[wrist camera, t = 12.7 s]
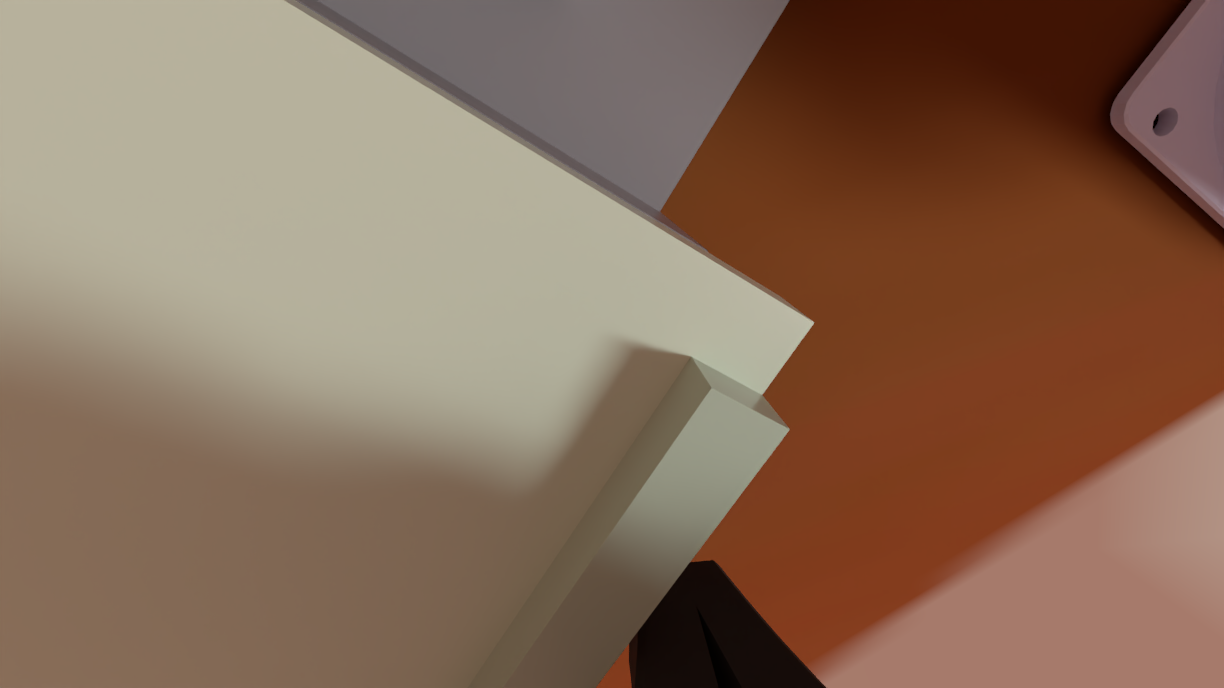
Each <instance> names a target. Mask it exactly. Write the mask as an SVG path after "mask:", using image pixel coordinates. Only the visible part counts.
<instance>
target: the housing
mask: <svg viewBox="0 0 1224 688" xmlns="http://www.w3.org/2000/svg"><path fill="white" fill-rule="evenodd" d="M296 1H297V2H299V3H301V4H302V5H304V6H306V7H307V8H309V9H310V10H312V11H314V12H315V13H317V14H319V15H320V16H322V17H324V18H325V19H327V20H328V21H330V22H332V23H333V24H335V25H337V26H338V27H340V28H342V29H343V30H345V31H346V32H348V33H350V34H351V35H353V36H355V37H356V38H358V39H360V40H361V41H363V42H364V43H366V44H368V45H369V46H371V47H373V48H374V49H376V50H378V51H379V52H381V53H383V54H384V55H386V56H387V57H389V58H391V59H392V60H394V61H396V62H397V63H399V64H401V65H402V66H404V67H405V68H407V69H409V70H410V71H412V72H414V73H415V74H417V75H419V76H420V77H422V78H423V79H425V80H427V81H428V82H430V83H432V84H433V85H435V86H437V87H438V88H440V89H441V90H443V91H445V92H446V93H448V94H450V95H451V96H453V97H455V98H456V99H458V100H459V101H461V102H463V103H464V104H466V105H468V106H469V107H471V108H473V109H474V110H476V111H477V112H479V113H481V114H482V115H484V116H486V117H487V118H489V119H491V120H492V121H494V122H495V123H497V124H499V125H500V126H502V127H504V128H505V129H507V130H509V131H510V132H512V133H513V134H515V135H517V136H518V137H520V138H522V139H523V140H525V141H527V142H528V143H530V144H531V145H533V146H535V147H536V148H538V149H540V150H541V151H543V152H545V153H546V154H548V155H549V156H551V157H553V158H554V159H556V160H558V161H559V162H561V163H563V164H564V165H566V166H567V167H569V168H571V169H572V170H574V171H576V172H577V173H579V174H581V175H582V176H584V177H585V178H587V179H589V180H590V181H592V182H594V183H595V184H597V185H599V186H600V187H602V188H603V189H605V190H607V191H608V192H610V193H612V194H613V195H615V196H617V197H618V198H620V199H621V200H623V201H625V202H626V203H628V204H630V205H631V206H633V207H635V208H636V209H638V210H639V211H641V212H643V213H644V214H646V215H648V216H649V217H651V218H653V219H654V220H656V221H657V222H659V223H661V224H662V225H664V226H666V227H667V228H669V229H671V230H672V231H674V232H676V233H677V234H679V235H680V236H682V237H684V238H685V239H687V240H689V241H690V242H692V243H694V244H695V245H697V246H698V247H700V248H702V249H703V250H705V251H707V250H706V249H705V248H704V247H702V246H701V245H700V244H699V243H697V242H696V241H695V240H694V239H693V238H691V237H690V236H689V235H688V234H686V233H685V232H684V231H683V230H681V229H680V228H679V227H678V226H677V225H675V224H674V223H673V222H672V221H670V220H669V219H668V218H667V217H665V216H664V215H663V214H662V213H661V212H660V210H661V209H662V207H663V205H664V204H665V202H666V201H667V199H668V197H669V196H670V194H671V192H672V191H673V189H674V188H675V186H676V184H677V183H678V181H679V179H680V178H681V176H682V175H683V173H684V171H685V170H686V168H687V166H688V165H689V163H690V162H691V160H692V158H693V157H694V155H695V153H696V152H697V150H698V149H699V147H700V145H701V144H702V142H703V140H704V139H705V137H706V135H707V134H708V132H709V131H710V129H711V127H712V126H713V124H714V122H715V121H716V119H717V118H718V116H719V114H720V113H721V111H722V109H723V108H724V106H725V105H726V103H727V101H728V100H729V98H730V96H731V95H732V93H733V92H734V90H735V88H736V87H737V85H738V83H739V82H740V80H741V79H742V77H743V75H744V74H745V72H746V70H747V69H748V67H749V66H750V64H751V62H752V61H753V59H754V57H755V56H756V54H757V52H758V51H759V49H760V48H761V46H762V44H763V43H764V41H765V39H766V38H767V36H768V35H769V33H770V31H771V30H772V28H773V26H774V25H775V23H776V22H777V20H778V18H779V17H780V15H781V13H782V12H783V10H784V9H785V7H786V5H787V4H788V2H789V0H296Z"/></svg>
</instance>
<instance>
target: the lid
mask: <svg viewBox="0 0 1224 688" xmlns="http://www.w3.org/2000/svg"><path fill="white" fill-rule="evenodd" d="M813 324H814V322H813V321H812V320H810V319H809V318H808V317H806V316H805V315H804V314H803V313H801V312H800V311H799V310H797V309H796V308H795V307H793V306H792V305H791V304H789V303H788V302H787V301H785V300H784V299H783V298H781V297H780V296H779V295H777V294H775V293H774V292H772V291H770V290H769V289H767V288H766V287H764V286H762V285H761V284H759V283H757V282H756V281H754V280H752V279H751V278H749V277H748V276H746V275H744V274H743V273H741V272H739V271H738V270H736V269H734V268H733V267H731V266H730V265H728V264H726V263H725V262H723V261H721V260H720V259H718V258H716V257H715V256H713V255H712V254H710V253H708V252H707V251H705V250H703V249H702V248H700V247H698V246H697V245H695V244H694V243H692V242H690V241H689V240H687V239H685V238H684V237H682V236H680V235H679V234H677V233H676V232H674V231H672V230H671V229H669V228H667V227H666V226H664V225H662V224H661V223H659V222H657V221H656V220H654V219H653V218H651V217H649V216H648V215H646V214H644V213H643V212H641V211H639V210H638V209H636V208H635V207H633V206H631V205H630V204H628V203H626V202H625V201H623V200H621V199H620V198H618V197H617V196H615V195H613V194H612V193H610V192H608V191H607V190H605V189H603V188H602V187H600V186H599V185H597V184H595V183H594V182H592V181H590V180H589V179H587V178H585V177H584V176H582V175H581V174H579V173H577V172H576V171H574V170H572V169H571V168H569V167H567V166H566V165H564V164H563V163H561V162H559V161H558V160H556V159H554V158H553V157H551V156H549V155H548V154H546V153H545V152H543V151H541V150H540V149H538V148H536V147H535V146H533V145H531V144H530V143H528V142H527V141H525V140H523V139H522V138H520V137H518V136H517V135H515V134H513V133H512V132H510V131H509V130H507V129H505V128H504V127H502V126H500V125H499V124H497V123H495V122H494V121H492V120H491V119H489V118H487V117H486V116H484V115H482V114H481V113H479V112H477V111H476V110H474V109H473V108H471V107H469V106H468V105H466V104H464V103H463V102H461V101H459V100H458V99H456V98H455V97H453V96H451V95H450V94H448V93H446V92H445V91H443V90H441V89H440V88H438V87H437V86H435V85H433V84H432V83H430V82H428V81H427V80H425V79H423V78H422V77H420V76H419V75H417V74H415V73H414V72H412V71H410V70H409V69H407V68H405V67H404V66H402V65H401V64H399V63H397V62H396V61H394V60H392V59H391V58H389V57H387V56H386V55H384V54H383V53H381V52H379V51H378V50H376V49H374V48H373V47H371V46H369V45H368V44H366V43H364V42H363V41H361V40H360V39H358V38H356V37H355V36H353V35H351V34H350V33H348V32H346V31H345V30H343V29H342V28H340V27H338V26H337V25H335V24H333V23H332V22H330V21H328V20H327V19H325V18H324V17H322V16H320V15H319V14H317V13H315V12H314V11H312V10H310V9H309V8H307V7H306V6H304V5H302V4H301V3H299V2H297V1H296V0H0V688H596V686H597V685H598V684H599V682H600V681H601V680H602V678H603V677H604V676H605V674H606V673H607V672H608V670H609V669H610V668H611V666H612V665H613V664H614V662H615V661H616V660H617V658H618V657H619V656H620V655H621V653H622V652H623V651H624V649H625V648H626V647H627V645H628V644H629V643H630V641H631V640H632V639H633V637H634V636H635V635H636V633H637V632H638V631H639V629H640V628H641V627H642V625H643V624H644V623H645V621H646V620H647V619H648V617H649V616H650V615H651V613H652V612H653V611H654V609H655V608H656V607H657V605H658V604H659V603H660V601H661V600H662V599H663V597H664V596H665V595H666V593H667V592H668V591H669V589H670V588H671V587H672V585H673V584H674V583H675V581H676V580H677V579H678V577H679V576H680V575H681V573H682V572H683V571H684V569H685V568H686V567H687V565H688V564H689V563H690V561H691V560H692V559H693V557H694V556H695V555H696V553H697V552H698V551H699V549H700V548H701V547H702V545H703V544H704V543H705V541H706V540H707V539H708V537H709V536H710V535H711V533H712V532H713V531H714V529H715V528H716V527H717V526H718V524H719V523H720V522H721V520H722V519H723V518H724V516H725V515H726V514H727V512H728V511H729V510H730V508H731V507H732V506H733V504H734V503H735V502H736V500H737V499H738V498H739V496H740V495H741V494H742V492H743V491H744V490H745V488H746V487H747V486H748V484H749V483H750V482H751V480H752V479H753V478H754V476H755V475H756V474H757V472H758V471H759V470H760V468H761V467H762V466H763V464H764V463H765V462H766V460H767V459H768V458H769V456H770V455H771V454H772V452H773V451H774V450H775V448H776V447H777V446H778V444H779V443H780V442H781V440H782V439H783V438H784V436H785V435H786V434H787V432H788V431H789V430H790V429H789V428H788V427H787V425H786V424H785V423H784V422H783V420H782V419H781V418H780V417H779V415H778V414H777V413H776V412H775V410H774V409H773V408H772V407H771V406H770V404H769V403H768V402H767V401H766V399H765V398H764V397H763V396H762V394H763V393H764V391H765V390H766V389H767V387H768V386H769V385H770V383H771V382H772V380H773V379H774V378H775V376H776V375H777V374H778V372H779V371H780V369H781V368H782V367H783V365H784V364H785V362H786V361H787V360H788V358H789V357H790V356H791V354H792V353H793V351H794V350H795V349H796V347H797V346H798V345H799V343H800V342H801V340H802V339H803V338H804V336H805V335H806V334H807V332H808V331H809V329H810V328H811V327H812V325H813Z"/></svg>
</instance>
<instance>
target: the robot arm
mask: <svg viewBox="0 0 1224 688" xmlns="http://www.w3.org/2000/svg"><path fill="white" fill-rule="evenodd" d="M1157 114H1159V117H1158V123H1157V125H1156V126H1155V128H1154V129H1153V121H1154V120H1155V118H1156V116H1157ZM1110 118H1111V124H1112V126H1113V127H1114V129H1115V130H1116V131H1117V132H1118V133H1119V134H1120V135H1121V136H1122V137H1123V138H1124V139H1125V140H1127V141H1128V142H1129V143H1130V144H1131V145H1132V146H1133V147H1134V148H1135V149H1136V150H1138V151H1139V152H1140V153H1141V154H1142V155H1143V156H1144V157H1145V158H1146V159H1148V160H1149V161H1150V162H1151V163H1152V164H1153V165H1154V166H1155V167H1156V168H1157V169H1159V170H1160V171H1161V172H1162V173H1163V174H1164V175H1165V176H1166V177H1167V178H1169V179H1170V180H1171V181H1172V182H1173V183H1174V184H1175V185H1176V186H1177V187H1178V188H1180V189H1181V190H1182V191H1183V192H1184V193H1185V194H1186V195H1187V196H1188V197H1190V198H1191V199H1192V200H1193V201H1194V202H1195V203H1196V204H1197V205H1198V206H1199V207H1201V208H1202V209H1203V210H1204V211H1205V212H1206V213H1207V214H1208V215H1209V216H1211V217H1212V218H1213V219H1214V220H1215V221H1216V222H1217V223H1218V224H1219V225H1220V226H1222V227H1223V228H1224V0H1192V1H1191V2H1190V3H1189V5H1188V6H1187V7H1186V8H1185V10H1184V11H1183V12H1182V13H1181V15H1180V16H1179V17H1178V19H1177V20H1176V21H1175V22H1174V24H1173V25H1172V26H1171V27H1170V29H1169V30H1168V31H1167V33H1166V34H1165V35H1164V36H1163V38H1162V39H1161V40H1160V41H1159V43H1158V44H1157V45H1156V47H1155V48H1154V49H1153V50H1152V52H1151V53H1150V54H1149V55H1148V57H1147V58H1146V59H1145V61H1144V62H1143V63H1142V64H1141V66H1140V67H1139V68H1138V69H1137V71H1136V72H1135V73H1134V75H1133V76H1132V77H1131V78H1130V80H1129V81H1128V82H1127V83H1126V85H1125V86H1124V87H1123V89H1122V90H1121V91H1120V92H1119V94H1118V95H1117V97H1116V99H1115V100H1114V102H1113V104H1112V108H1111V112H1110ZM629 665H630V673H631V683H632V688H826V687H825V686H824V685H823V684H822V683H821V682H820V681H819V680H818V679H817V678H816V676H815V675H814V674H813V673H812V672H811V671H810V670H809V669H808V668H807V667H806V666H805V665H804V664H803V662H802V661H801V660H800V659H799V658H798V657H797V656H796V655H795V654H794V653H793V652H792V651H791V650H790V648H789V647H788V646H787V645H786V644H785V643H784V642H783V641H782V640H781V639H780V637H779V636H778V635H777V634H776V633H775V632H774V631H773V630H772V628H771V627H770V626H769V625H768V624H767V623H766V621H765V620H764V619H763V618H762V617H761V616H760V614H759V613H758V612H757V611H756V610H755V609H754V607H753V606H752V605H751V604H750V603H749V601H748V600H747V599H746V598H745V597H744V596H743V594H742V593H741V592H740V591H739V589H738V588H737V587H736V586H735V585H734V583H733V582H732V581H731V580H730V578H729V577H728V576H727V575H726V573H725V572H724V571H723V570H722V568H721V567H720V566H719V565H718V564H717V563H716V562H715V561H713V560H711V561H700V562H690V563H689V564H688V565H687V567H686V568H685V569H684V571H683V572H682V573H681V575H680V576H679V577H678V579H677V580H676V581H675V583H674V584H673V585H672V587H671V588H670V589H669V591H668V592H667V593H666V595H665V596H664V597H663V599H662V600H661V601H660V603H659V604H658V605H657V607H656V608H655V609H654V611H653V612H652V613H651V615H650V616H649V617H648V619H647V620H646V621H645V623H644V624H643V625H642V627H641V628H640V629H639V631H638V632H637V633H636V635H635V636H634V637H633V639H632V640H631V641H630V643H629Z"/></svg>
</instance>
